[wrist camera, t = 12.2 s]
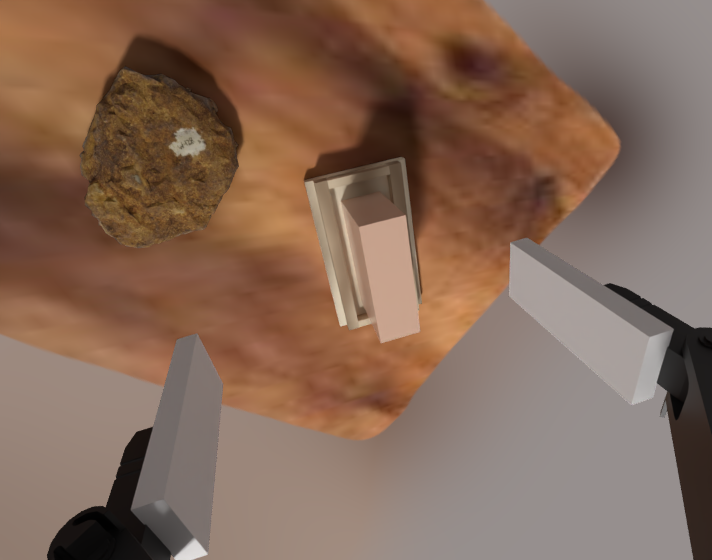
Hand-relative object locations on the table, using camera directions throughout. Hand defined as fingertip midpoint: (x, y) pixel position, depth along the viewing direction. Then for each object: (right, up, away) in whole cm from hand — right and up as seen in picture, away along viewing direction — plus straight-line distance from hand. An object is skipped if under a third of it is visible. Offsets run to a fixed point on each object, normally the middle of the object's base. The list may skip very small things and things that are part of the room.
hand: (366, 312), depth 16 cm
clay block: (+1, +5, +25) cm, 26 cm away
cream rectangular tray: (+1, +5, +26) cm, 27 cm away
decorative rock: (-18, +11, +19) cm, 28 cm away
